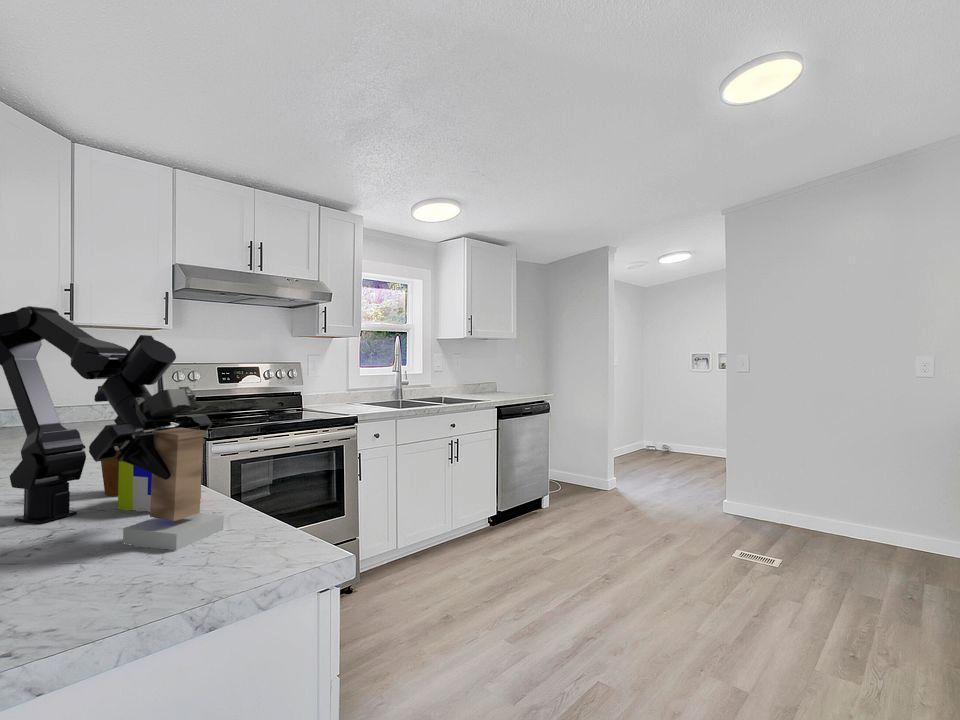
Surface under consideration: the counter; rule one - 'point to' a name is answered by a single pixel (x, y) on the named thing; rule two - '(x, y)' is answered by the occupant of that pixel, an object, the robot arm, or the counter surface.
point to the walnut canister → (178, 474)
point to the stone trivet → (172, 531)
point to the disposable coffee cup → (111, 474)
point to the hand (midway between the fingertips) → (182, 474)
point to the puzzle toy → (134, 488)
